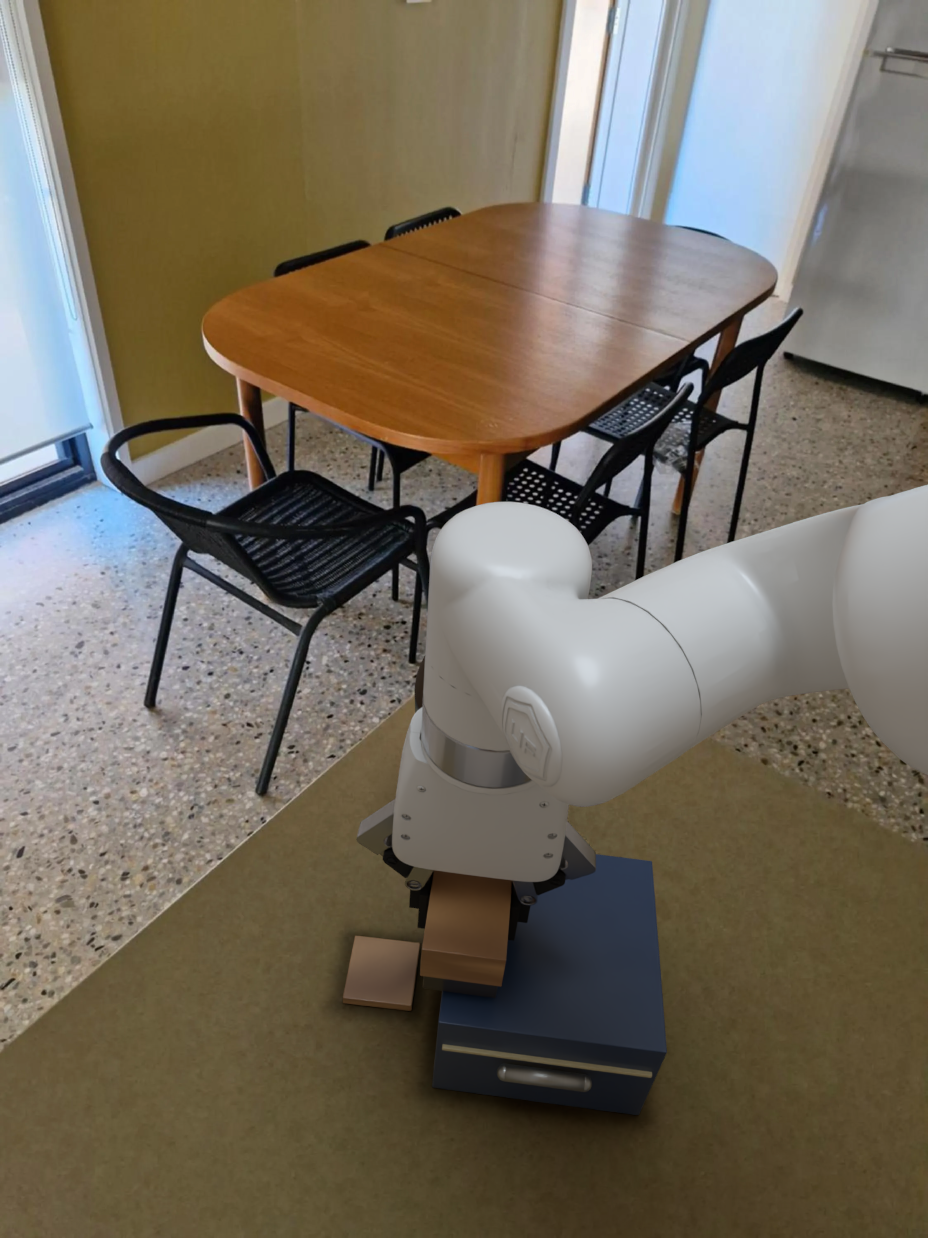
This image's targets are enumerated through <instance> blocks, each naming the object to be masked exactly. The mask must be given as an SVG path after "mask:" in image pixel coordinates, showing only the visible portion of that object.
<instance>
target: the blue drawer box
mask: <svg viewBox="0 0 928 1238" xmlns="http://www.w3.org/2000/svg"><path fill="white" fill-rule="evenodd" d="M653 868H654V867H653V861H652V860H646V859H640V858H639V859H638V858H631V857H624V856H623V857H621V856H615V855H607V854H606V855H605V854H599V853H598V854H597V853H596V871H595V872H594V873H592V874H589V875H586V876H583V877H580V878H577V879H573V880H570V879H567V880H565V884H564V885H563V886H560V887H558V888H556V889H553V890H551V891H548V892H546V893H543V894H541V895H538V901H537V903H536V904H534V905H531V906H530V911H529V916H528V921H527V923H522V922H518V923H517V928H516V934H515V939H514V941H512V940H508V942H507V956H506V964H505V970H504V975H503V981H502V986H501V987H500V986H498V987H497V993H496V997H495V998H491V997H484V996H476V995H469V994H462V993H454V992H447V991H441V998H440V1006H439V1012H438V1013H439V1015H438V1022H437V1033H436V1040H435V1041H436V1042H435V1052H434V1062H433V1063H434V1064H433V1072H432V1083H431V1087H432V1089H433V1088H434V1089H441V1090H447V1091H448V1090H449V1091H455V1092H463V1093H470V1094H476V1095H477V1094H478V1095H485V1096H493V1097H499V1098H500V1097H501V1098H508V1099H515V1100H522V1101H529V1102H537V1103H543V1104H544V1103H545V1104H552V1105H559V1106H567V1107H574V1108H582V1109H588V1110H595V1111H604V1112H612V1113H618V1114H624V1115H625V1114H627V1115H634V1116H639V1115H640V1113H641V1111H642V1110H643V1107H644V1105H645V1102H646V1100H647V1098H648V1096H649V1093H650V1092H651V1089H652V1087H653V1085H654V1082H655V1080H656V1078H657V1076H658V1074H659V1071H660V1069H661V1067H662V1065H663V1062H664V1060H665V1057H666V1056H667V1054H668V1049H667V1048H668V1047H667V1035H666V1020H665V1008H664V995H663V983H662V972H661V971H662V969H661V959H660V958H661V957H660V945H659V933H658V921H657V920H658V919H657V905H656V895H655V894H656V893H655V892H656V891H655V881H654V880H655V879H654V869H653Z"/></svg>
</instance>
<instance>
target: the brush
mask: <svg viewBox="0 0 928 1238" xmlns="http://www.w3.org/2000/svg"><path fill="white" fill-rule="evenodd" d="M511 888H512V880H505V879H497V878H489V877H481V876H473V875H466V874H458V873H451V872H444V871H437V870H434V874H433V880H432V887H431V893H430V899H429V906H428V912H427V919H426V925H425V929H424V932H423V938H422V944H421V952H420V953H421V955H420V969H419V976H421V977H422V988H423V989H426V990H432V991H441V992H442V991H447V992H454V993H462V994H469V995H476V996H484V997H491V998H495V997H496V993H497V987H498V986H500V987H501V986H502V981H503V975H504V970H505V964H506V956H507V942H508V929H509V915H510V902H511Z"/></svg>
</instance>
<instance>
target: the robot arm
mask: <svg viewBox="0 0 928 1238" xmlns="http://www.w3.org/2000/svg"><path fill="white" fill-rule="evenodd" d="M592 575H593V559H592V555H591V551H590V547H589V545H588V543H587V541H586V539H585V538H584V536H583V535H582V533H581V532H580V530H579V529H578V528H577V527H576V526H575V525H573V523H571V522H570V521H569V520H567V519H566V518H565V517H563V516H561V515H559V514H557V513H556V512H554V511H551V510H550V509H547V508H544V507H541V506H539V505H534V504H529V503H524V502H518V501H494V502H493V501H492V502H486V503H482V504H478V505H475V506H471V507H469V508H466V509H464V510H462V511H459V512H458V513H456V514H455V515H454V516H452V517H451V518H450V519H448V521H446V523H445V524H444V525H443V526H442V527H441V528H440V530H439V532H438V533H437V535H436V537H435V539H434V542H433V546H432V549H431V553H430V562H429V579H428V582H429V583H428V596H427V597H428V598H427V615H426V632H425V633H426V634H425V649H424V651H425V652H424V656H425V669H424V688H423V706H422V708H420V709H419V710H418V711H417V712H416V713H415V712H414V714H413V715H412V718H411V720H410V722H409V725H408V729H407V731H406V735H405V738H404V742H403V746H402V752H401V756H400V762H399V769H398V776H397V777H398V778H397V784H396V792H395V798H394V799H392V800H390V801H389V802H388V803H387V804H385V805H384V806H382V807H380V808H379V809H377V810H376V811H374V812H373V813H371V814H370V815H368V816H367V817H365V818H364V819H363V820H361V821H360V823H359V827H358V830H357V834H356V840H355V841H356V842H357V843H358V844H359V845H361V846H363V848H365V849H366V850H369V851H370V852H371V853H374V854H375V855H376V856H379V855H380V856H382V861H383V863H384V864H385V865H387V866H388V867H390V868H391V869H392V870H394V871H395V872H396V873H397V874H399V875H401V877H403V878H404V879H405V880H404V886H405V888H407V889H408V890H409V902H408V903H409V904H408V908H409V909H415V910H416V909H417V910H418V913H417V914H418V915H417V929H424V930H425V925H426V919H427V912H428V906H429V899H430V893H431V887H432V880H433V874H434V870H437V871H444V872H451V873H458V874H466V875H473V876H481V877H489V878H497V879H505V880H512V888H511V902H510V915H509V929H508V940H512V941H514V939H515V934H516V928H517V923H518V922H522V923H527V921H528V916H529V911H530V906H531V905H534V904H536V903H537V901H538V895H541V894H543V893H546V892H548V891H551V890H553V889H556V888H558V887H560V886H563V885H564V884H565V880H567V879H570V880H573V879H577V878H580V877H583V876H586V875H589V874H592V873H594V872H595V871H596V854H597V853H596V851H595V850H594V848H592V846H591V845H590V843H588V842H587V840H586V839H585V838H584V837H582V835H581V834H580V833H579V832H578V830H576V829H575V827H574V826H573V825H572V824H571V823H570V822H569V821H568V817H569V808H570V806H574V807H581V808H587V807H593V806H598V805H599V806H600V805H602V804H604V803H607V802H610V801H611V800H613V799H616V798H617V797H620V796H622V795H623V794H624V793H626V792H628V791H629V790H631V789H632V788H634V787H636V786H637V785H639V784H640V783H642V782H644V781H645V780H646V779H648V778H649V777H651V776H652V775H654V774H656V773H657V772H659V771H660V770H661V769H663V768H664V767H666V766H667V765H669V764H670V763H671V764H672V762H674V761H676V760H677V759H678V758H680V757H682V756H683V755H684V754H685V753H687V752H688V751H689V750H691V749H693V748H694V747H696V746H697V745H699V744H700V743H702V742H703V741H705V740H707V739H708V738H709V737H711V736H713V735H714V734H716V733H717V732H719V731H721V730H722V729H724V728H725V727H727V726H728V725H730V724H731V723H733V722H735V721H736V720H738V719H740V718H741V717H743V716H745V715H747V714H748V713H750V712H751V711H753V710H755V709H756V708H758V707H759V706H761V705H763V704H765V703H768V702H771V701H775V700H778V699H782V698H786V697H787V698H788V697H791V696H798V695H799V696H800V695H806V694H813V693H820V692H821V693H822V692H828V691H838V690H849V692H850V693H851V696H852V698H853V701H854V703H855V705H856V706H857V709H858V710H859V712H860V714H861V715H862V717H863V719H864V721H865V722H866V723H867V725H868V726H869V728H870V730H871V731H872V732H873V733H874V734H875V736H876V737H877V738H878V740H880V742H881V743H882V744H884V745H885V746H886V747H887V748H888V749H889V750H890V751H891V752H892V753H893V754H894V755H895V756H896V757H897V758H898V759H899V760H900V761H902V762H903V763H904V764H906V765H907V766H909V767H910V768H912V769H914V770H916V771H918V772H920V773H922V774H924V775H926V776H928V484H925V485H921V486H917V487H914V488H911V489H908V490H903V491H900V492H898V493H894V494H892V495H887V496H880V497H878V498H873V499H871V500H868V501H866V502H864V503H863V504H862V503H861V504H858V505H852V506H847V507H842V508H839V509H835V510H831V511H828V512H824V513H820V514H817V515H814V516H810V517H807V518H803V519H800V520H797V521H793V522H790V523H787V524H784V525H781V526H777V527H775V528H772V529H769V530H765V531H762V532H758V533H755V534H752V535H749V536H746V537H743V538H740V539H736V540H733V541H730V542H727V543H724V544H720V545H717V546H715V547H712V548H708V549H705V550H702V551H700V552H698V553H695V554H692V555H690V556H687V557H685V558H682V559H680V560H677V561H675V562H673V563H671V564H668V565H667V566H664V567H662V568H660V569H657V570H654V571H652V572H650V573H648V574H645V575H644V576H642V577H640V578H638V579H636V580H634V581H631V582H630V583H628V584H625V585H624V586H620V587H619V588H617V589H615V590H613V591H610V592H608V593H607V594H604V595H602V596H600V597H598V598H589V594H590V590H591V581H592Z"/></svg>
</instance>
